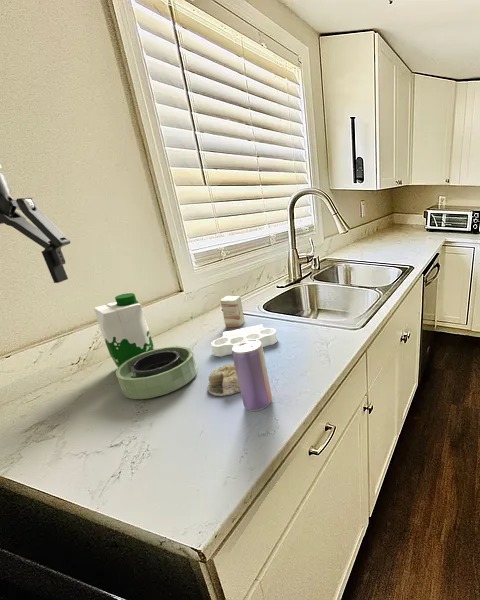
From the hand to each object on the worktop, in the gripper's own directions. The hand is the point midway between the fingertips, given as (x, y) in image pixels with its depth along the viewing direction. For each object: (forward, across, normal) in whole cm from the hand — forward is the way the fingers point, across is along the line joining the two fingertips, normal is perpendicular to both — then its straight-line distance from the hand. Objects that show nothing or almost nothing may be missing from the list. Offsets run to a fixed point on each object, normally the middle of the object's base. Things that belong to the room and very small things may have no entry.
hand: (21, 283), depth 66 cm
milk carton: (+29, +7, +13) cm, 33 cm away
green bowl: (+29, +17, +3) cm, 34 cm away
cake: (+29, +34, -2) cm, 45 cm away
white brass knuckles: (+29, +34, +20) cm, 49 cm away
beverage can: (+29, +43, -11) cm, 53 cm away
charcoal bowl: (+28, +17, +3) cm, 33 cm away
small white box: (+29, +27, +36) cm, 53 cm away
